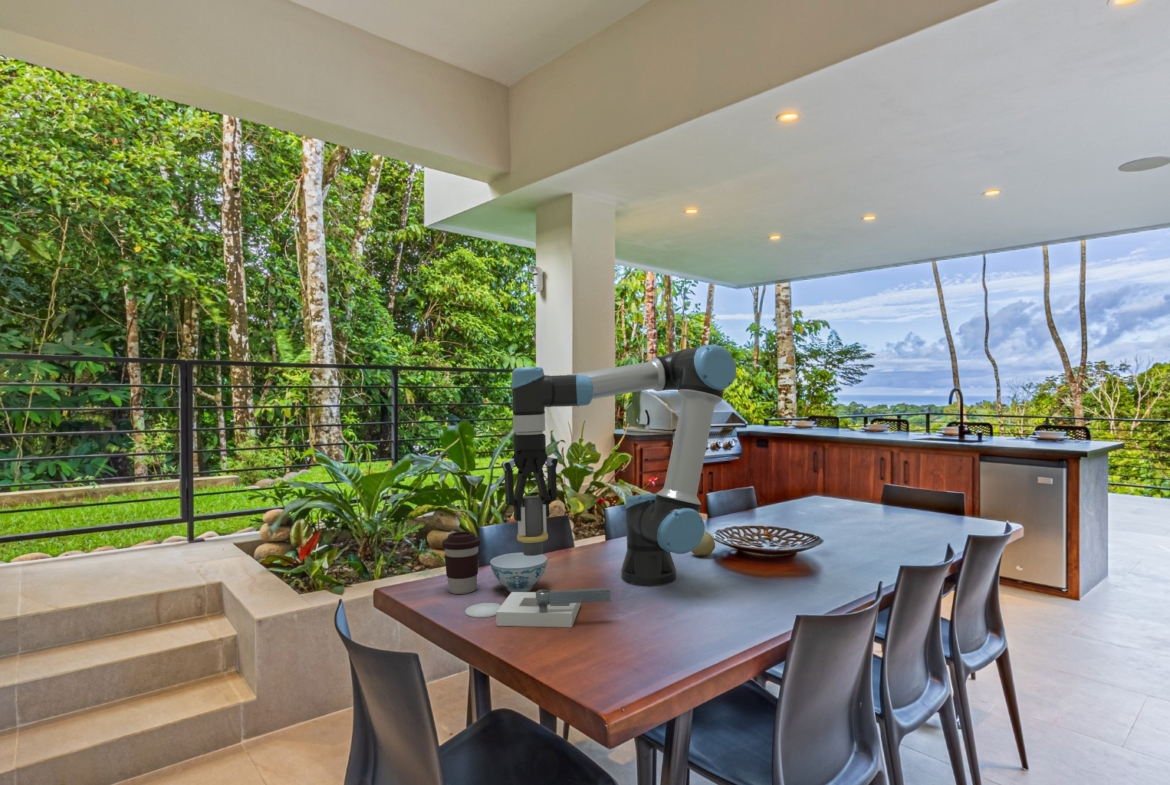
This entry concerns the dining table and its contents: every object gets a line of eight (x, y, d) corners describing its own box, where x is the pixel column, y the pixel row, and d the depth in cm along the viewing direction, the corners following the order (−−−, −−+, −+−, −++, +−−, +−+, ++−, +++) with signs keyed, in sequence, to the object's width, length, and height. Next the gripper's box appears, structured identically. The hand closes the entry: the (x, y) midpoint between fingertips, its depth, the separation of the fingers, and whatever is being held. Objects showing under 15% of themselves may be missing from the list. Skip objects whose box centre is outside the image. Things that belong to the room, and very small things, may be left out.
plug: (551, 549, 143) (549, 494, 143) (545, 557, 136) (543, 499, 136) (521, 549, 144) (519, 495, 144) (514, 557, 137) (512, 500, 137)
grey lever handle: (535, 606, 131) (535, 594, 131) (536, 601, 135) (535, 590, 135) (611, 602, 132) (610, 591, 133) (609, 597, 136) (609, 586, 136)
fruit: (688, 553, 191) (687, 528, 191) (714, 553, 190) (713, 528, 190) (688, 559, 184) (688, 533, 184) (716, 559, 182) (715, 533, 182)
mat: (507, 604, 147) (507, 603, 147) (497, 618, 138) (497, 616, 138) (472, 604, 148) (472, 602, 148) (460, 617, 139) (459, 615, 139)
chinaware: (480, 595, 155) (479, 565, 155) (507, 578, 169) (506, 551, 169) (533, 600, 150) (532, 569, 150) (556, 582, 164) (555, 554, 164)
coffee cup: (473, 597, 153) (471, 538, 154) (437, 595, 155) (435, 537, 156) (487, 585, 163) (485, 530, 163) (453, 584, 165) (451, 529, 165)
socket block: (580, 605, 145) (580, 587, 145) (571, 627, 131) (571, 607, 131) (512, 604, 147) (511, 586, 147) (496, 625, 133) (496, 605, 133)
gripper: (556, 430, 147) (559, 525, 147) (488, 434, 139) (491, 535, 139) (570, 431, 141) (573, 531, 141) (498, 436, 133) (502, 541, 132)
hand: (532, 532), depth 140 cm, fingers closed on plug, 5 cm apart
